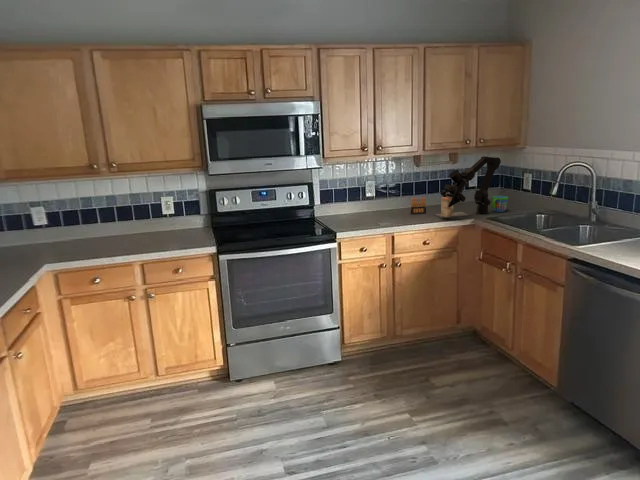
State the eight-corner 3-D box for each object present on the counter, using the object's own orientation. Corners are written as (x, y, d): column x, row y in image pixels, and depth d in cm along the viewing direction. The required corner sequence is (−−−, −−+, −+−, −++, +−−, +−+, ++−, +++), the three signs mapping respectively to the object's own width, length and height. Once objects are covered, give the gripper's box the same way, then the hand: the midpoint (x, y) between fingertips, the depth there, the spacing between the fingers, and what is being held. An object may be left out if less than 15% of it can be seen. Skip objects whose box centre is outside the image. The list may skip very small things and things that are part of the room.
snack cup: (501, 208, 361) (502, 194, 359) (513, 210, 352) (514, 196, 350) (485, 211, 354) (486, 197, 351) (497, 213, 345) (498, 198, 342)
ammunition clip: (410, 214, 356) (410, 197, 353) (410, 213, 358) (410, 197, 355) (426, 213, 356) (426, 196, 353) (425, 213, 357) (425, 196, 354)
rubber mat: (461, 213, 353) (461, 211, 352) (469, 215, 342) (469, 214, 342) (434, 215, 349) (434, 214, 349) (441, 218, 338) (441, 217, 338)
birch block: (447, 214, 338) (447, 196, 335) (453, 215, 333) (453, 197, 330) (441, 215, 335) (441, 197, 332) (446, 217, 330) (446, 198, 327)
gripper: (442, 178, 338) (429, 196, 336) (462, 180, 322) (448, 200, 320) (451, 188, 344) (438, 207, 341) (471, 191, 328) (458, 211, 325)
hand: (445, 206), depth 332 cm, fingers closed on birch block, 5 cm apart
